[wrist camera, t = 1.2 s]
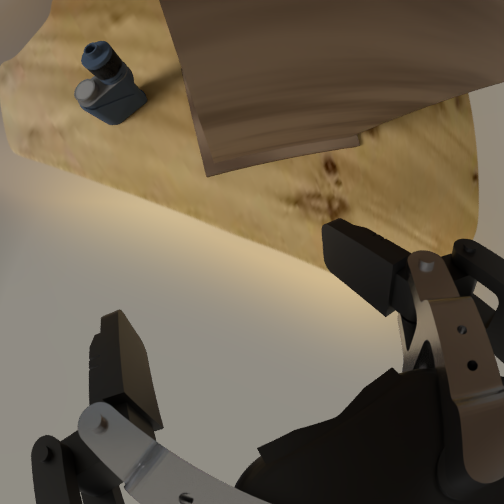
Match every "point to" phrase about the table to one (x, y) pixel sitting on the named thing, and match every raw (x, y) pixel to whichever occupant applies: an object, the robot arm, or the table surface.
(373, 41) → the stand
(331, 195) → the table surface
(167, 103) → the table surface
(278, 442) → the robot arm
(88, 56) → the vaping device
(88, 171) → the table surface
